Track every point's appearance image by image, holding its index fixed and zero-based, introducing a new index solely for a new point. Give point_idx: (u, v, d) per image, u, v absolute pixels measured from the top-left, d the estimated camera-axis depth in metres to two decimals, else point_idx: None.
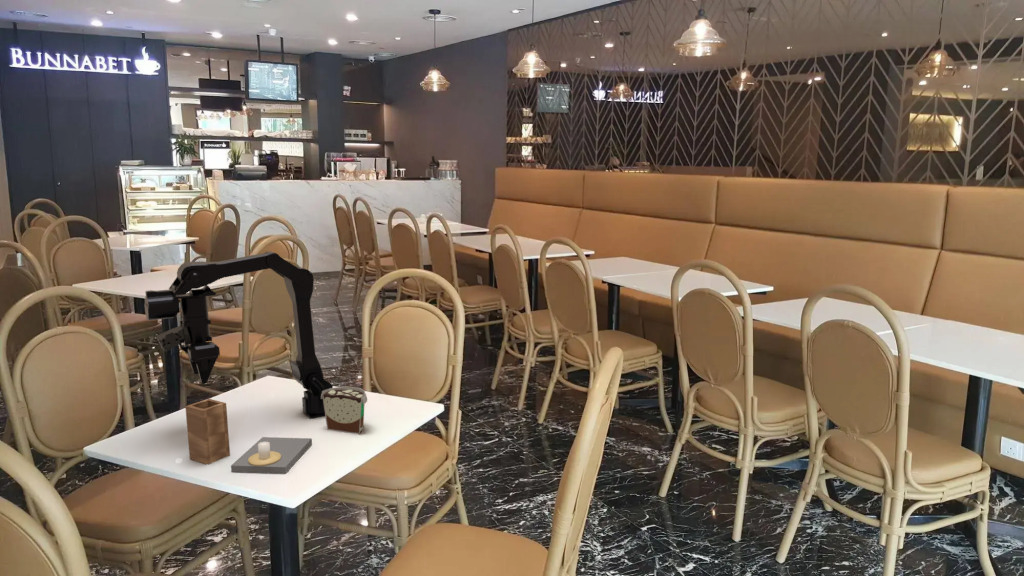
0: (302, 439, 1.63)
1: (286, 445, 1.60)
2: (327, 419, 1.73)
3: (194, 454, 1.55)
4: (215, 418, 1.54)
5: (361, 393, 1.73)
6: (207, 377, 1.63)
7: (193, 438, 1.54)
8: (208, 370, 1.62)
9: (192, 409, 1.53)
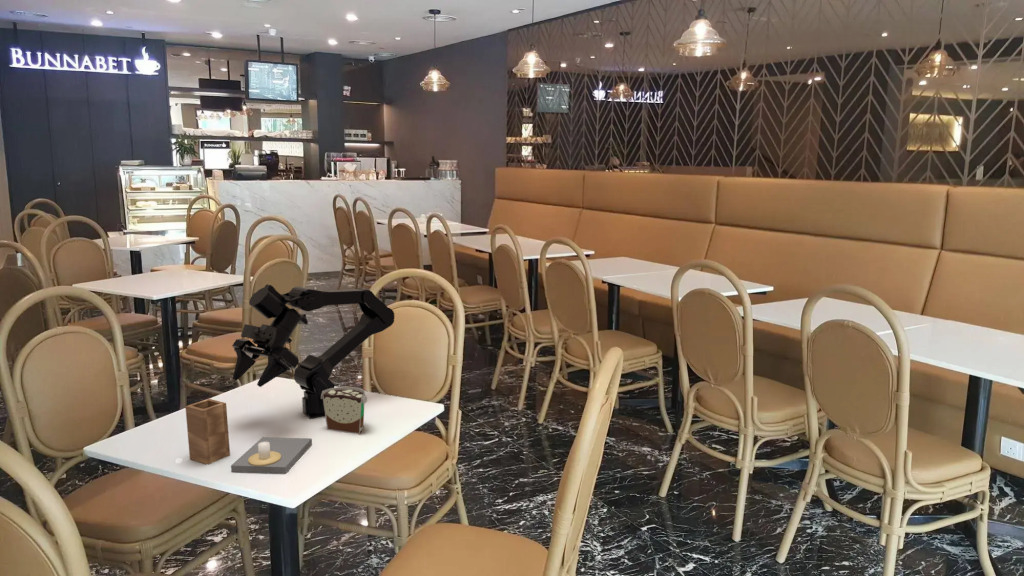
0: (302, 439, 1.63)
1: (286, 445, 1.60)
2: (327, 419, 1.73)
3: (194, 454, 1.55)
4: (215, 418, 1.54)
5: (361, 393, 1.73)
6: (265, 382, 1.65)
7: (193, 438, 1.54)
8: (272, 376, 1.66)
9: (192, 409, 1.53)
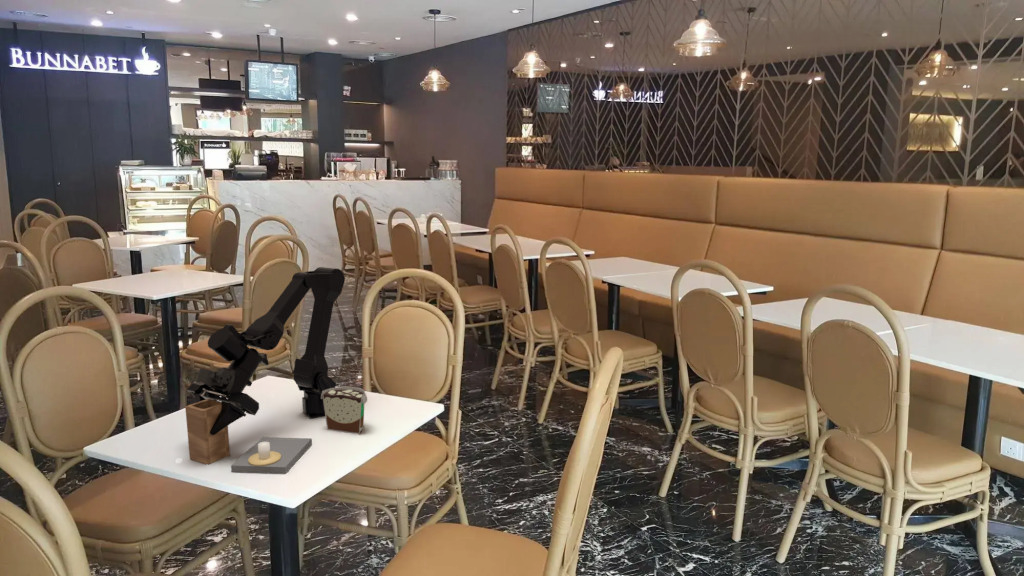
0: (302, 439, 1.63)
1: (286, 445, 1.60)
2: (327, 419, 1.73)
3: (194, 454, 1.55)
4: (215, 418, 1.54)
5: (361, 393, 1.73)
6: (219, 430, 1.54)
7: (193, 438, 1.54)
8: (226, 423, 1.55)
9: (192, 409, 1.53)
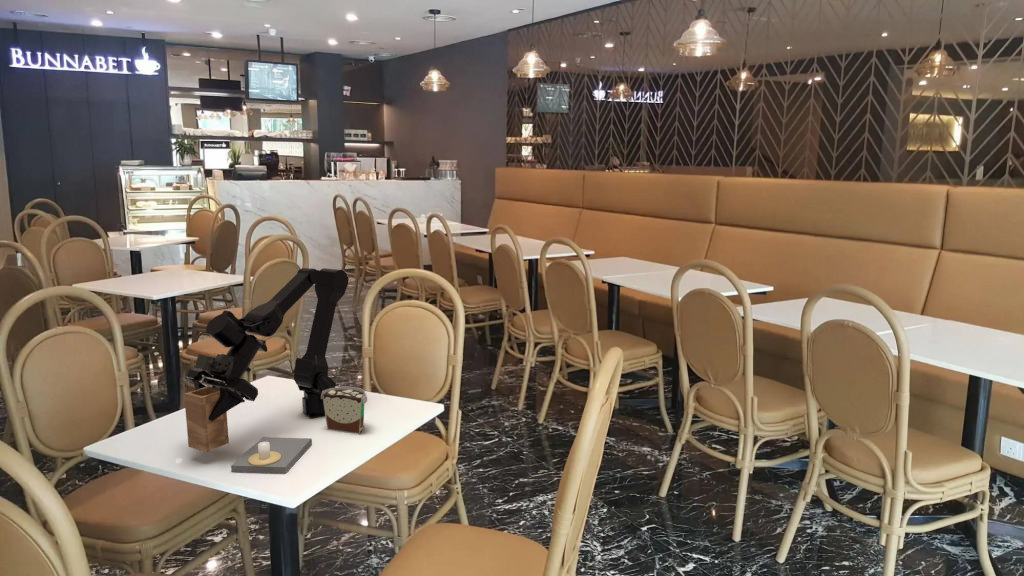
0: (302, 439, 1.63)
1: (286, 445, 1.60)
2: (327, 419, 1.73)
3: (193, 442, 1.54)
4: (214, 405, 1.53)
5: (361, 393, 1.73)
6: (217, 416, 1.53)
7: (191, 426, 1.54)
8: (225, 409, 1.54)
9: (191, 396, 1.52)
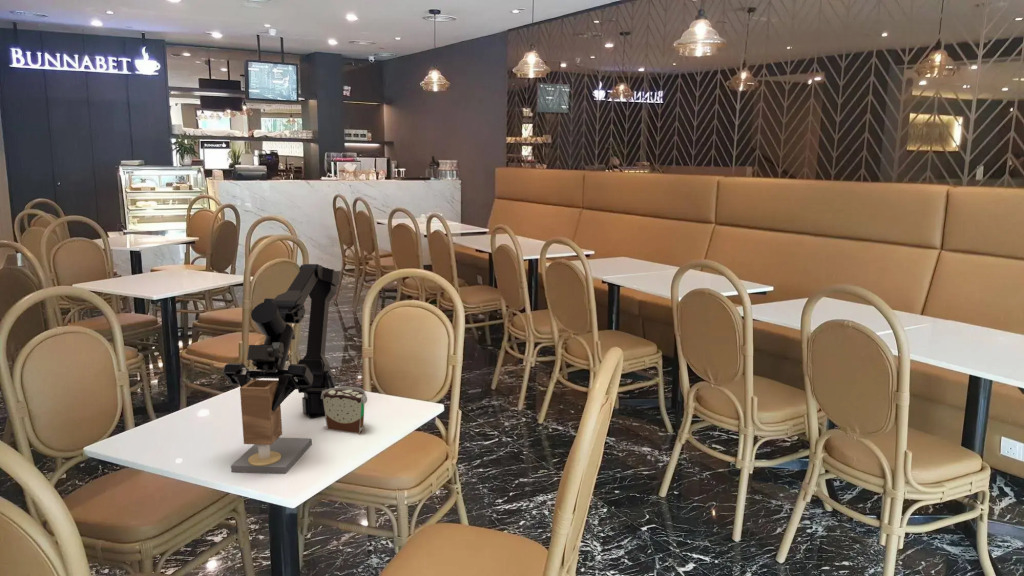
0: (302, 439, 1.63)
1: (286, 445, 1.60)
2: (327, 419, 1.73)
3: (252, 437, 1.48)
4: (274, 396, 1.49)
5: (361, 393, 1.73)
6: (278, 405, 1.50)
7: (250, 421, 1.48)
8: (283, 398, 1.51)
9: (251, 389, 1.46)
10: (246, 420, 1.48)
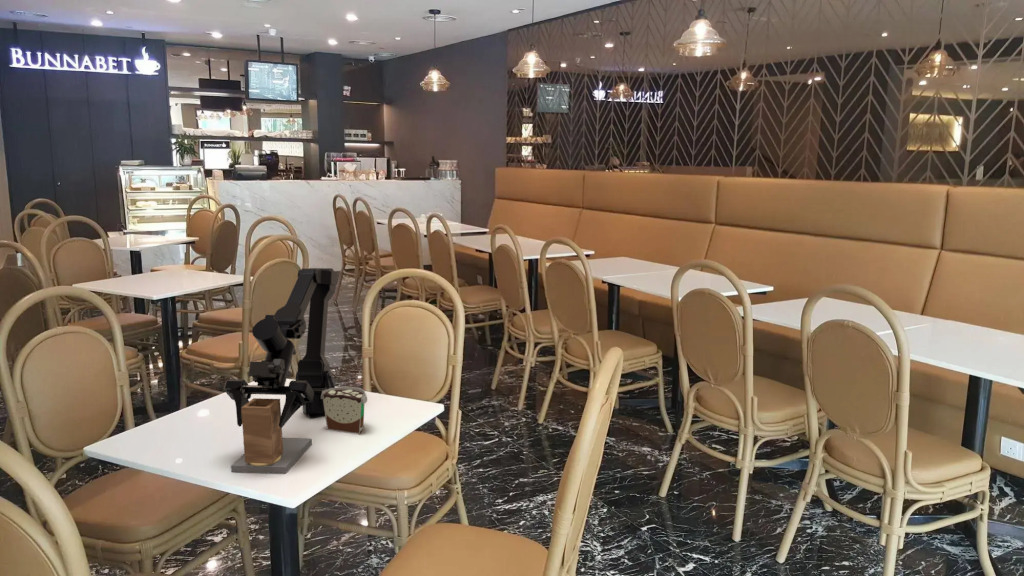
0: (302, 439, 1.63)
1: (286, 445, 1.60)
2: (327, 419, 1.73)
3: (253, 456, 1.49)
4: (275, 415, 1.50)
5: (361, 393, 1.73)
6: (285, 421, 1.50)
7: (251, 440, 1.48)
8: (290, 414, 1.52)
9: (252, 409, 1.47)
10: (247, 439, 1.48)
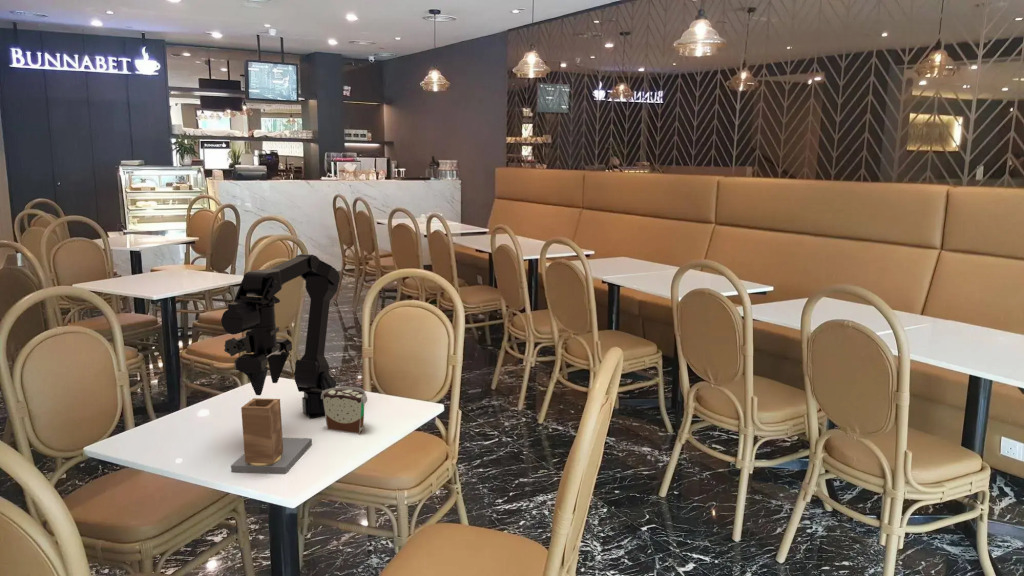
0: (302, 439, 1.63)
1: (286, 445, 1.60)
2: (327, 419, 1.73)
3: (253, 456, 1.49)
4: (275, 415, 1.50)
5: (361, 393, 1.73)
6: (259, 389, 1.59)
7: (251, 440, 1.48)
8: (259, 382, 1.58)
9: (252, 409, 1.47)
10: (247, 439, 1.48)
